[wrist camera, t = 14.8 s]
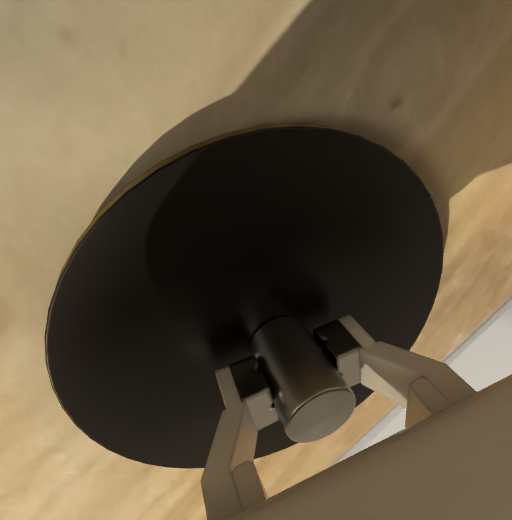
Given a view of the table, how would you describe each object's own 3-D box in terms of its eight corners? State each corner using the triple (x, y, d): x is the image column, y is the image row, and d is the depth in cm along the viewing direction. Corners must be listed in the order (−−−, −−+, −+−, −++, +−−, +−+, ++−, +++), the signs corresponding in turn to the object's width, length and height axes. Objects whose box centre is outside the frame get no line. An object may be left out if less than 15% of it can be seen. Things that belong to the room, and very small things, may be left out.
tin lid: (441, 65, 11) (615, 61, 7) (411, 365, 19) (482, 438, 16) (-77, 215, 8) (-257, 343, 4) (154, 486, 17) (163, 611, 13)
